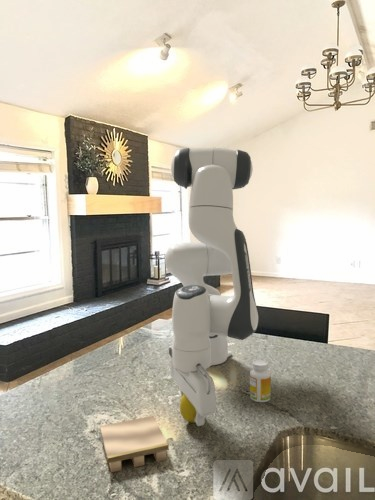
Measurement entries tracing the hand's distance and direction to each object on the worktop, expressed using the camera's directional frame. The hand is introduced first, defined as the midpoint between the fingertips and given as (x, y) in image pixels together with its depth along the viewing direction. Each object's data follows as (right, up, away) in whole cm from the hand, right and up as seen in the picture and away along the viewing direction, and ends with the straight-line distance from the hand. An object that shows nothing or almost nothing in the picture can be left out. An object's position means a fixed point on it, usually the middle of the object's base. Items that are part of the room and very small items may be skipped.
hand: (192, 414), depth 92 cm
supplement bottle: (+18, -1, +12) cm, 22 cm away
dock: (-13, -3, -9) cm, 16 cm away
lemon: (0, -2, 0) cm, 2 cm away
